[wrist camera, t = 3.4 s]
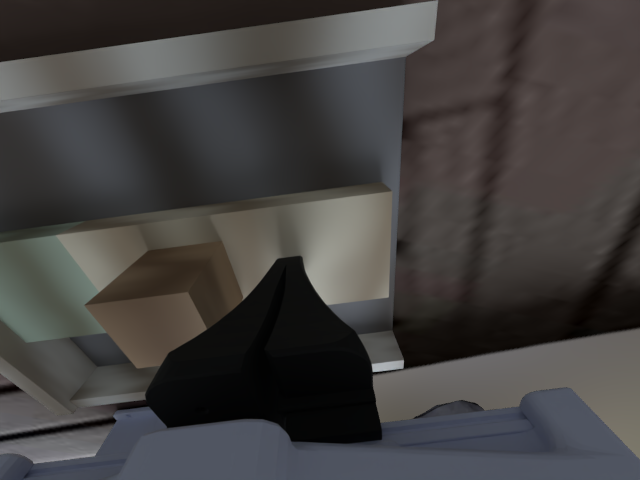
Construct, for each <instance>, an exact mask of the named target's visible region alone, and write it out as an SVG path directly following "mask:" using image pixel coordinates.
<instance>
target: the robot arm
mask: <svg viewBox="0 0 640 480" xmlns="http://www.w3.org/2000/svg"><path fill="white" fill-rule="evenodd" d="M145 399H146V403H147V404H148V406H149V407H141V408H133V409H125V410H118V411H116V412H115V414H114V415H113V417H114V418H115V419H116V420H117V422H116V423H115V425H114V426H113V428H112V430H111V431H110V433H109V434H108V436H107V438H106V439H105V441H104V443H103V444H102V446H101V447H100V449H99V451H98V452H97V454H96V455H95V457H87V458H79V459H71V460H62V461H54V462H45V463H37V464H33V461H31V460H30V459H28V458H27V457H25V456H22V455H19V454H1V455H0V480H640V459H639V458H638V457H637V456H636V455H635V454H634V453H633V452H632V451H631V450H630V449H629V448H628V447H627V446H626V445H625V444H624V443H623V442H622V441H621V440H620V439H619V438H618V437H617V436H616V435H615V434H614V432H612V430H611V429H609V427H608V426H607V425H606V424H605V423H604V422H603V421H602V420H601V419H600V418H599V417H598V416H597V415H596V414H595V413H594V412H593V411H592V410H591V409H590V408H589V407H588V406H587V405H586V403H584V401H582V399H581V398H580V397H579V396H578V395H577V394H576V393H575V392H574V391H573V390H572V389H571V388H567V387H566V388H557V389H549V390H540V391H534V392H530V393H528V394H526V395H525V396H524V397H523V398H522V400H521V403H520V406H519V407H511V408H503V409H495V410H487V411H477V412H469V413H460V414H452V415H443V416H435V417H427V418H418V419H410V420H401V421H393V422H384V423H380V419H379V415H378V411H377V407H376V398H375V394H374V390H373V369H372V363H371V360H370V358H369V355H368V353H367V351H366V349H365V347H364V345H363V343H362V341H361V340H360V338H359V336H358V335H357V333H356V331H355V330H354V329H352V328H351V327H350V326H348V325H347V324H346V323H345V322H343V321H342V320H341V319H340V318H339V317H338V316H337V315H336V314H335V313H334V312H333V311H332V310H331V309H330V308H329V307H328V306H327V305H326V304H325V302H324V301H323V300H322V299H321V297H320V296H319V295H318V293H317V292H316V290H315V289H314V287H313V285H312V284H311V282H310V280H309V278H308V276H307V274H306V272H305V268H304V263H303V257H301V256H293V257H285V258H278V259H277V260H276V261H275V262H274V264H273V265H272V266H271V268H270V269H269V271H268V272H267V273H266V275H265V276H264V277H263V278H262V280H261V281H260V282H259V283H258V285H257V286H256V287H255V288H254V289H253V290H252V291H251V293H250V294H249V295H248V296H247V297H246V298H245V299H244V300H243V301H242V302H241V303H240V304H238V305H237V306H236V307H235V308H234V309H233V310H232V311H230V312H229V313H228V314H227V315H225V316H224V317H223V318H222V319H220V320H219V321H218V322H217V323H215V324H214V325H212V326H211V327H210V328H208V329H207V330H205V331H204V332H202V333H201V334H199V335H198V336H196V337H195V338H193V339H191V340H190V341H188V342H186V343H184V344H183V345H181V346H179V347H178V348H176V349H174V350H172V351H171V352H169V353H168V354H167V356H166V358H165V359H164V361H163V363H162V364H161V366H160V368H159V369H158V371H157V373H156V375H155V376H154V378H153V380H152V382H151V383H150V385H149V387H148V389H147V391H146V393H145Z"/></svg>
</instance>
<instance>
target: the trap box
mask: <svg viewBox="0 0 640 480" xmlns="http://www.w3.org/2000/svg"><path fill="white" fill-rule="evenodd" d="M437 5H438V0H437V1H430V2H423V3H416V4H409V5H402V6H395V7H388V8H380V9H373V10H366V11H359V12H352V13H345V14H338V15H331V16H324V17H317V18H310V19H303V20H296V21H289V22H282V23H274V24H267V25H260V26H253V27H246V28H239V29H232V30H225V31H218V32H211V33H204V34H197V35H190V36H183V37H176V38H168V39H161V40H154V41H147V42H140V43H133V44H126V45H119V46H112V47H105V48H98V49H91V50H84V51H77V52H69V53H62V54H55V55H48V56H41V57H34V58H27V59H20V60H13V61H6V62H0V373H1V374H2V375H3V376H5V377H6V378H7V379H9V380H10V381H11V382H13V383H14V384H15V385H17V386H18V387H19V388H21V389H22V390H23V391H25V392H26V393H28V394H29V395H30V396H32V397H33V398H34V399H36V400H37V401H38V402H40V403H41V404H42V405H44V406H45V407H46V408H48V409H49V410H50V411H52V412H53V413H54V414H56V415H57V416H59V415H67V414H73V413H74V412H75V411H76V409H77V408H80V407H88V406H97V405H105V404H113V403H121V402H130V401H138V400H146V399H145V393H146V391H147V389H148V387H149V385H150V383H151V382H152V380H153V378H154V376H155V375H156V373H157V371H158V369H159V368H160V366H154V367H145V368H136V367H135V365H134V364H133V363H132V362H131V361H130V360H129V358H128V357H127V356H126V355H125V354H124V352H123V351H122V350H121V349H120V348H119V346H118V345H117V344H116V343H115V342H114V341H113V339H112V338H111V337H110V336H109V335H108V333H107V332H106V331H105V330H104V329H103V327H102V326H101V325H100V324H99V323H98V321H97V320H96V319H95V318H94V317H93V316H92V314H91V313H90V312H89V311H88V310H87V308H86V307H85V306H84V305H85V304H86V303H87V302H89V301H90V300H91V299H92V298H93V297H94V296H96V295H97V294H98V293H99V292H100V291H101V290H103V289H104V288H105V287H106V286H107V285H108V284H110V283H111V282H112V281H113V280H114V279H115V278H117V277H118V276H119V275H120V274H121V273H122V272H124V271H125V270H126V269H127V268H128V267H129V266H131V265H132V264H133V263H134V262H135V261H136V260H138V259H139V258H140V257H141V256H142V255H143V254H145V253H146V252H147V251H148V250H156V249H164V248H172V247H179V246H187V245H195V244H202V243H210V242H218V241H222V242H223V244H224V247H225V250H226V252H227V255H228V258H229V260H230V263H231V266H232V268H233V271H234V274H235V276H236V279H237V282H238V284H239V287H240V290H241V292H242V295H243V300H244V299H245V298H246V297H247V296H248V295H249V294H250V293H251V291H252V290H253V289H254V288H255V287H256V286H257V285H258V283H259V282H260V281H261V280H262V278H263V277H264V276H265V275H266V273H267V272H268V271H269V269H270V268H271V266H272V265H273V264H274V262H275V261H276V260H277V259H278V258H285V257H293V256H301V257H303V263H304V268H305V272H306V274H307V276H308V278H309V280H310V282H311V284H312V285H313V287H314V289H315V290H316V292H317V293H318V295H319V296H320V297H321V299H322V300H323V301H324V302H325V304H326V305H327V306H328V307H329V308H330V309H331V310H332V311H333V312H334V313H335V314H336V315H337V316H338V317H339V318H340V319H341V320H342V321H343V322H345V323H346V324H347V325H348V326H350V327H351V328H352V329H354V330H355V331H356V333H357V335H358V336H359V338H360V340H361V341H362V343H363V345H364V347H365V349H366V351H367V353H368V355H369V358H370V360H371V363H372V369H373V372H377V371H385V370H394V369H402V368H403V364H404V359H403V357H402V354H401V352H400V349H399V346H398V344H397V341H396V339H395V336H394V334H393V331H392V324H393V304H394V283H395V263H396V243H397V223H398V203H399V183H400V162H401V142H402V122H403V102H404V82H405V61H406V56H408V55H409V54H411V53H413V52H415V51H416V50H418V49H420V48H421V47H423V46H425V45H427V44H428V43H430V42H432V41H433V40H434V36H435V26H436V15H437ZM243 300H242V301H243Z"/></svg>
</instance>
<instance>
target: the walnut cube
mask: <svg viewBox="0 0 640 480" xmlns="http://www.w3.org/2000/svg"><path fill="white" fill-rule="evenodd" d="M242 300H243V295H242V292H241V290H240V287H239V284H238V282H237V279H236V276H235V274H234V271H233V268H232V266H231V263H230V260H229V258H228V255H227V252H226V250H225V247H224V244H223V242H222V241H218V242H210V243H202V244H195V245H187V246H179V247H172V248H164V249H156V250H148V251H147V252H146V253H145V254H143V255H142V256H141V257H140V258H139V259H138V260H136V261H135V262H134V263H133V264H132V265H131V266H129V267H128V268H127V269H126V270H125V271H124V272H122V273H121V274H120V275H119V276H118V277H117V278H115V279H114V280H113V281H112V282H111V283H110V284H108V285H107V286H106V287H105V288H104V289H103V290H101V291H100V292H99V293H98V294H97V295H96V296H94V297H93V298H92V299H91V300H90V301H89V302H87V303H86V304H85V305H84V306H85V307H86V308H87V310H88V311H89V312H90V313H91V314H92V316H93V317H94V318H95V319H96V320H97V321H98V323H99V324H100V325H101V326H102V327H103V329H104V330H105V331H106V332H107V333H108V335H109V336H110V337H111V338H112V339H113V341H114V342H115V343H116V344H117V345H118V346H119V348H120V349H121V350H122V351H123V352H124V354H125V355H126V356H127V357H128V358H129V360H130V361H131V362H132V363H133V364H134V365H135V367H136V368H145V367H154V366H161V364H162V363H163V361H164V359H165V358H166V356H167V354H168V353H169V352H171V351H172V350H174V349H176V348H178V347H179V346H181V345H183V344H184V343H186V342H188V341H190V340H191V339H193V338H195V337H196V336H198V335H199V334H201V333H202V332H204V331H205V330H207V329H208V328H210V327H211V326H212V325H214V324H215V323H217V322H218V321H219V320H220V319H222V318H223V317H224V316H225V315H227V314H228V313H229V312H230V311H232V310H233V309H234V308H235V307H236V306H237V305H238V304H240V303H241V302H242Z"/></svg>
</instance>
